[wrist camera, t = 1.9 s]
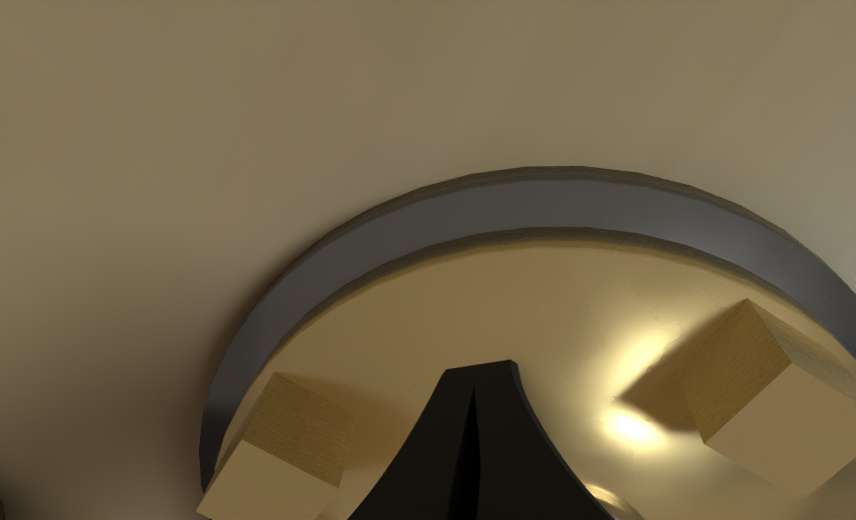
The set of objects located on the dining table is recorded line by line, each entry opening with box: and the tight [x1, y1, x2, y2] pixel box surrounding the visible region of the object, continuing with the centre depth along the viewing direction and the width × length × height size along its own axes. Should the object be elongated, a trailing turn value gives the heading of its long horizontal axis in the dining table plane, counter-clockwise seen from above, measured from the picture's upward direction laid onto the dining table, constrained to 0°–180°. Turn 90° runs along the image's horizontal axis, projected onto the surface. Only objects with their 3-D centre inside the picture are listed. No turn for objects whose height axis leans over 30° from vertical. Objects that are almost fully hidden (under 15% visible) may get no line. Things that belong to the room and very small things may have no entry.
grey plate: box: [199, 166, 856, 520], centre depth 21 cm, size 21×21×1 cm
